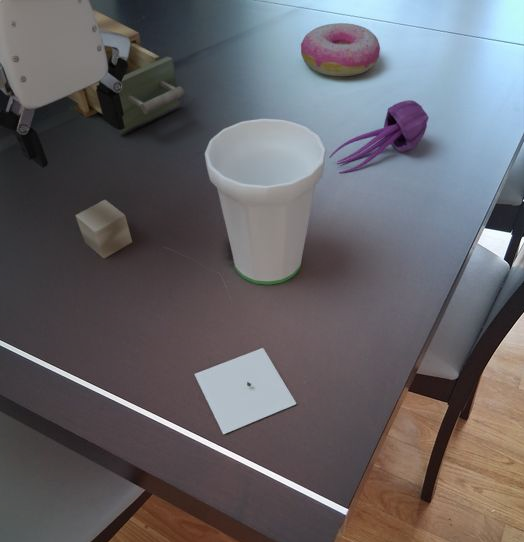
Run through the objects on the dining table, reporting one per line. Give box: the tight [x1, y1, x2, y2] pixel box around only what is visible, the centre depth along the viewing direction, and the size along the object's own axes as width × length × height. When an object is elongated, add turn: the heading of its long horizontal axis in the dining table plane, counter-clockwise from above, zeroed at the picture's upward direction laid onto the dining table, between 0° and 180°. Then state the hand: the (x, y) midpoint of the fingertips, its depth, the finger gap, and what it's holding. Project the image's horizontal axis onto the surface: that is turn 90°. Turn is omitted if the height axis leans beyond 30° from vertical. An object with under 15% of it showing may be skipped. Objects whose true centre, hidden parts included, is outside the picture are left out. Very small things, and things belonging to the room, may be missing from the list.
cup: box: [204, 118, 327, 286], centre depth 64 cm, size 12×12×15 cm
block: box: [74, 199, 133, 260], centre depth 71 cm, size 4×4×4 cm
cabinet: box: [66, 8, 143, 118], centre depth 94 cm, size 15×13×9 cm
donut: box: [300, 22, 381, 77], centre depth 98 cm, size 14×13×5 cm
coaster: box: [194, 347, 297, 435], centre depth 58 cm, size 8×8×1 cm
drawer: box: [84, 42, 185, 133], centre depth 88 cm, size 18×11×7 cm, turn 44°
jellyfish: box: [328, 99, 429, 174], centre depth 81 cm, size 7×7×15 cm
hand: (77, 142), depth 62 cm, fingers open, 9 cm apart
